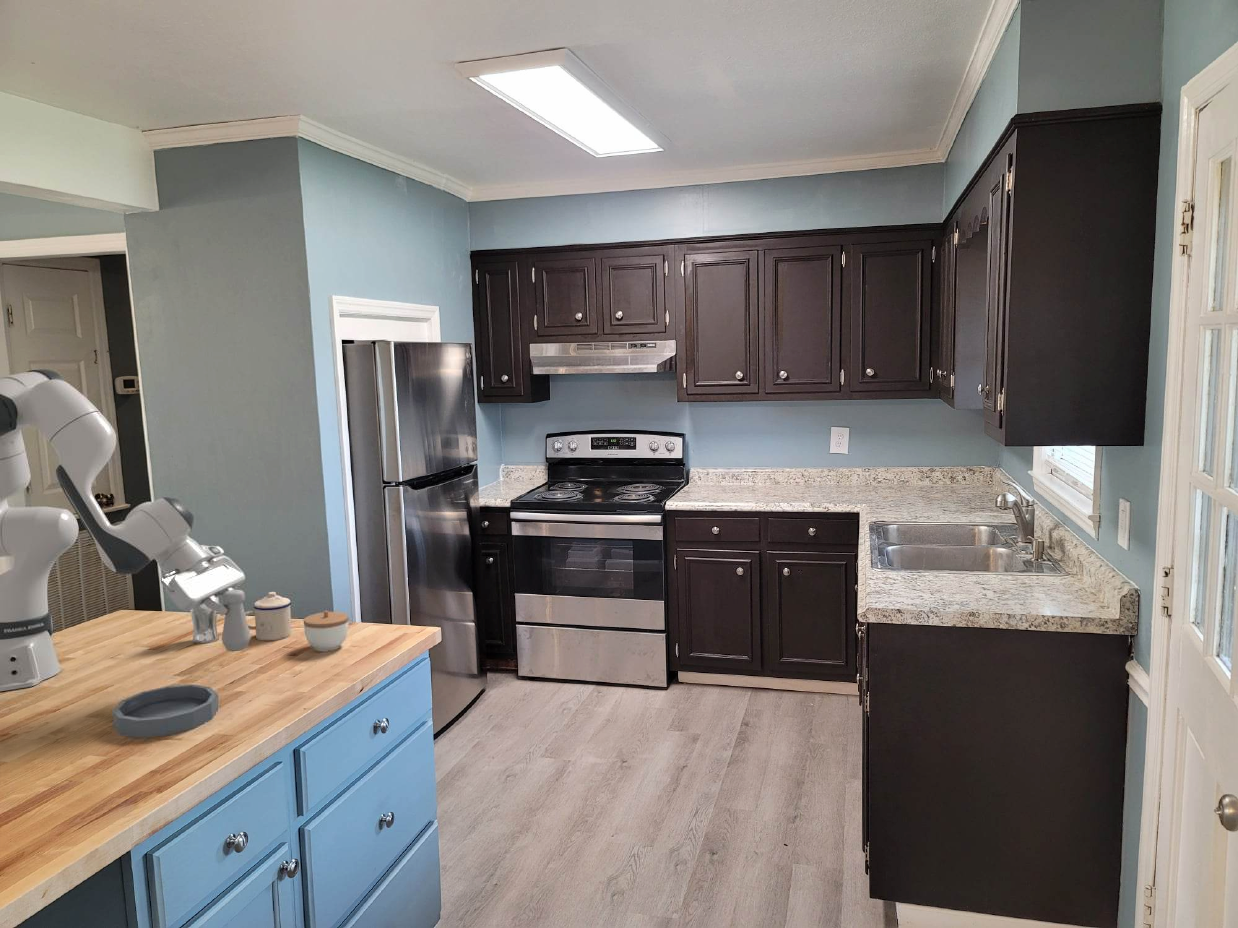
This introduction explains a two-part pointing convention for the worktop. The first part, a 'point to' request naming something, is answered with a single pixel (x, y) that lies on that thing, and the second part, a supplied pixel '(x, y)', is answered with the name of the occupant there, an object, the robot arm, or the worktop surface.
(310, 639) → the lidded jar
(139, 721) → the bowl
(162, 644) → the worktop surface
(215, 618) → the beer glass
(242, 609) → the salt shaker
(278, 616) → the teacup with lid
